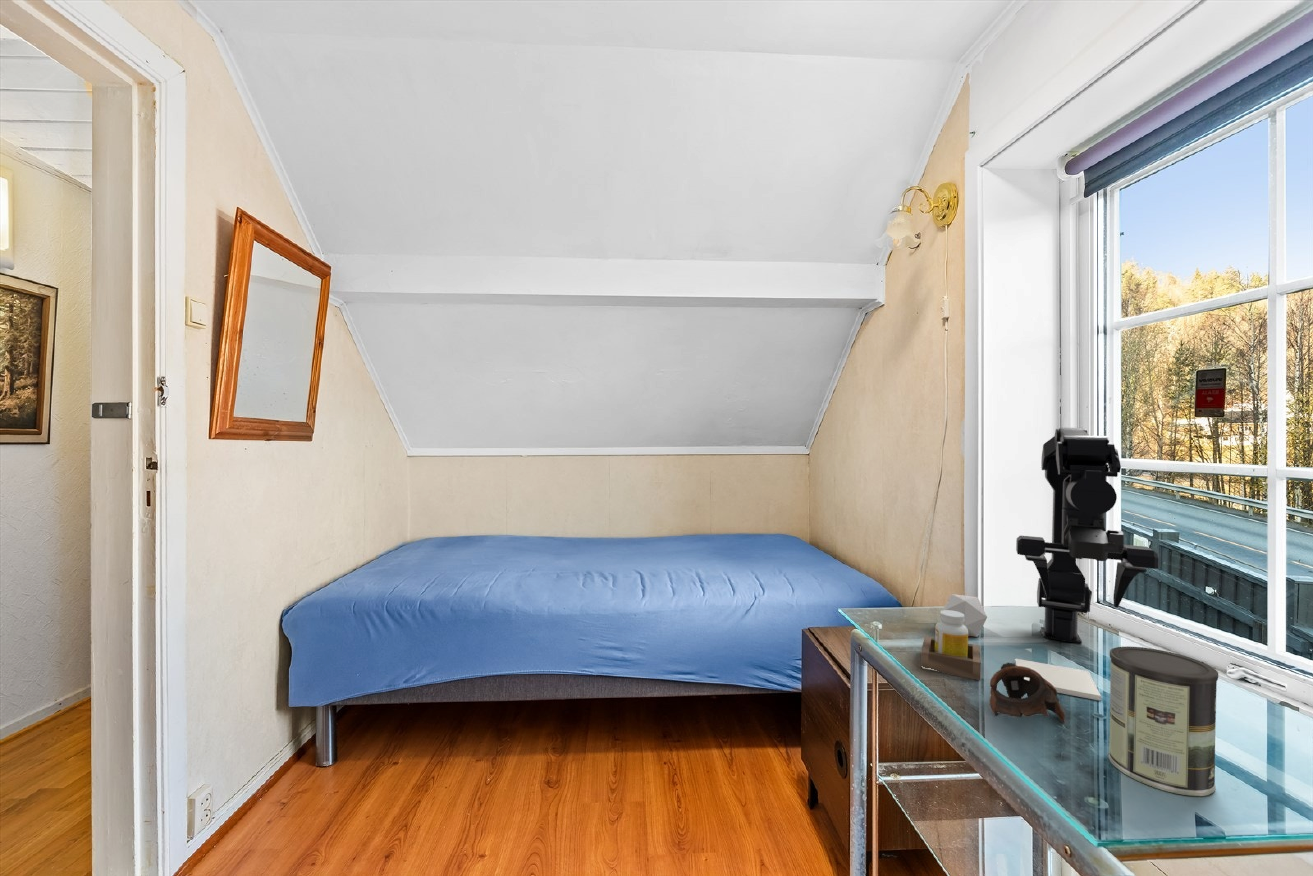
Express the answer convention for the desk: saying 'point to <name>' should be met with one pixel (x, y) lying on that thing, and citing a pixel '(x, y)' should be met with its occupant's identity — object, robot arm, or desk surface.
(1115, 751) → the coffee can
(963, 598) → the die
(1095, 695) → the off-white coaster
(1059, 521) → the robot arm
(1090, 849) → the desk surface
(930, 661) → the walnut holder
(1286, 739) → the desk surface
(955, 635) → the supplement bottle
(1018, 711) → the broken brown clay pot
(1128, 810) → the desk surface
